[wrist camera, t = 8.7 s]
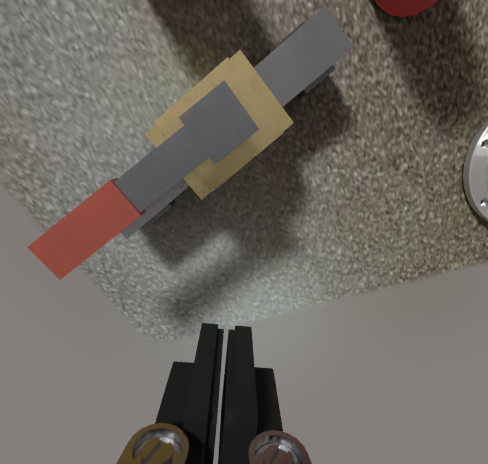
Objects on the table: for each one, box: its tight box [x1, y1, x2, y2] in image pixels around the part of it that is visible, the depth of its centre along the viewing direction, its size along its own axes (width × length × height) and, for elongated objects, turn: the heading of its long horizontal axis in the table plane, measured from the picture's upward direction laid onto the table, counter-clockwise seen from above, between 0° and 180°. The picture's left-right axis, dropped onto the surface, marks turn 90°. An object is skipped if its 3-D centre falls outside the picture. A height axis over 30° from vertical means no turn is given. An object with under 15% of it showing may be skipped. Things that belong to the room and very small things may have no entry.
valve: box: [121, 5, 353, 238], centre depth 26 cm, size 22×6×9 cm, turn 129°
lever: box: [28, 80, 259, 279], centre depth 21 cm, size 15×3×3 cm, turn 127°
